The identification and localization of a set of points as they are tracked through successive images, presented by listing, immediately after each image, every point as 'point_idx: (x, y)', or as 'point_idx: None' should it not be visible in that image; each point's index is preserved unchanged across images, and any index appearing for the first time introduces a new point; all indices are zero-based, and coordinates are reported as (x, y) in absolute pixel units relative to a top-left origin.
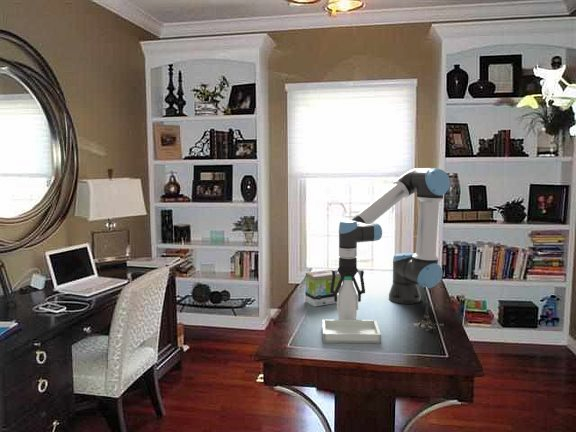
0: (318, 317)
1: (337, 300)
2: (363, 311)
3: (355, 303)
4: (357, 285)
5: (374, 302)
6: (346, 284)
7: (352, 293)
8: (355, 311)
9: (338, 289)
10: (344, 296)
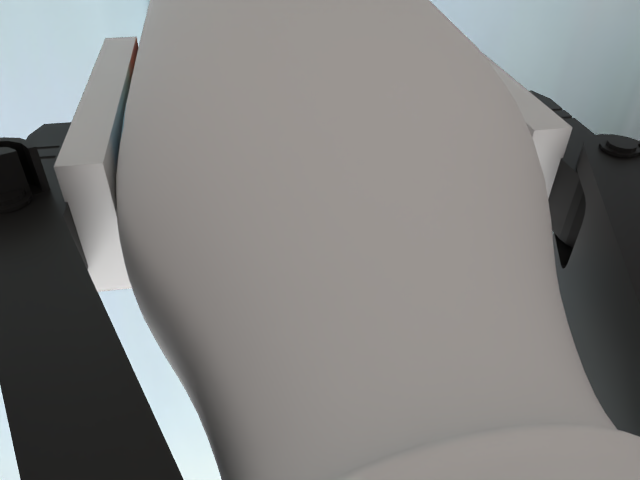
0: (567, 92)
1: (508, 79)
2: (102, 296)
3: (142, 47)
4: (15, 383)
5: None
6: (494, 312)
7: (211, 92)
8: (152, 3)
9: (622, 212)
10: (432, 20)
